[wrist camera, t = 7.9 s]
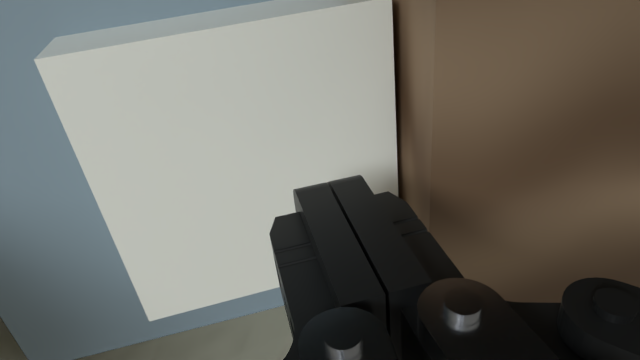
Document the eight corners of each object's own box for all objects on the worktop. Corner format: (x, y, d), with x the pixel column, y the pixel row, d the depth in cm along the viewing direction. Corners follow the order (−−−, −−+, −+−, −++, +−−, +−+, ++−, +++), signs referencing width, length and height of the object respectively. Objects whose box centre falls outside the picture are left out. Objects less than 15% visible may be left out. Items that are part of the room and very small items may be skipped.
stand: (366, -154, 12) (441, -177, 8) (764, -194, 14) (956, -227, 10) (382, 272, 19) (425, 351, 16) (639, 206, 21) (727, 264, 17)
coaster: (55, 37, 12) (34, 59, 10) (364, -16, 13) (392, -3, 11) (152, 277, 16) (149, 321, 14) (378, 220, 17) (400, 255, 15)
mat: (-329, -220, 8) (-350, -225, 8) (319, -260, 10) (323, -265, 10) (37, 360, 17) (34, 369, 16) (358, 278, 19) (361, 285, 18)
